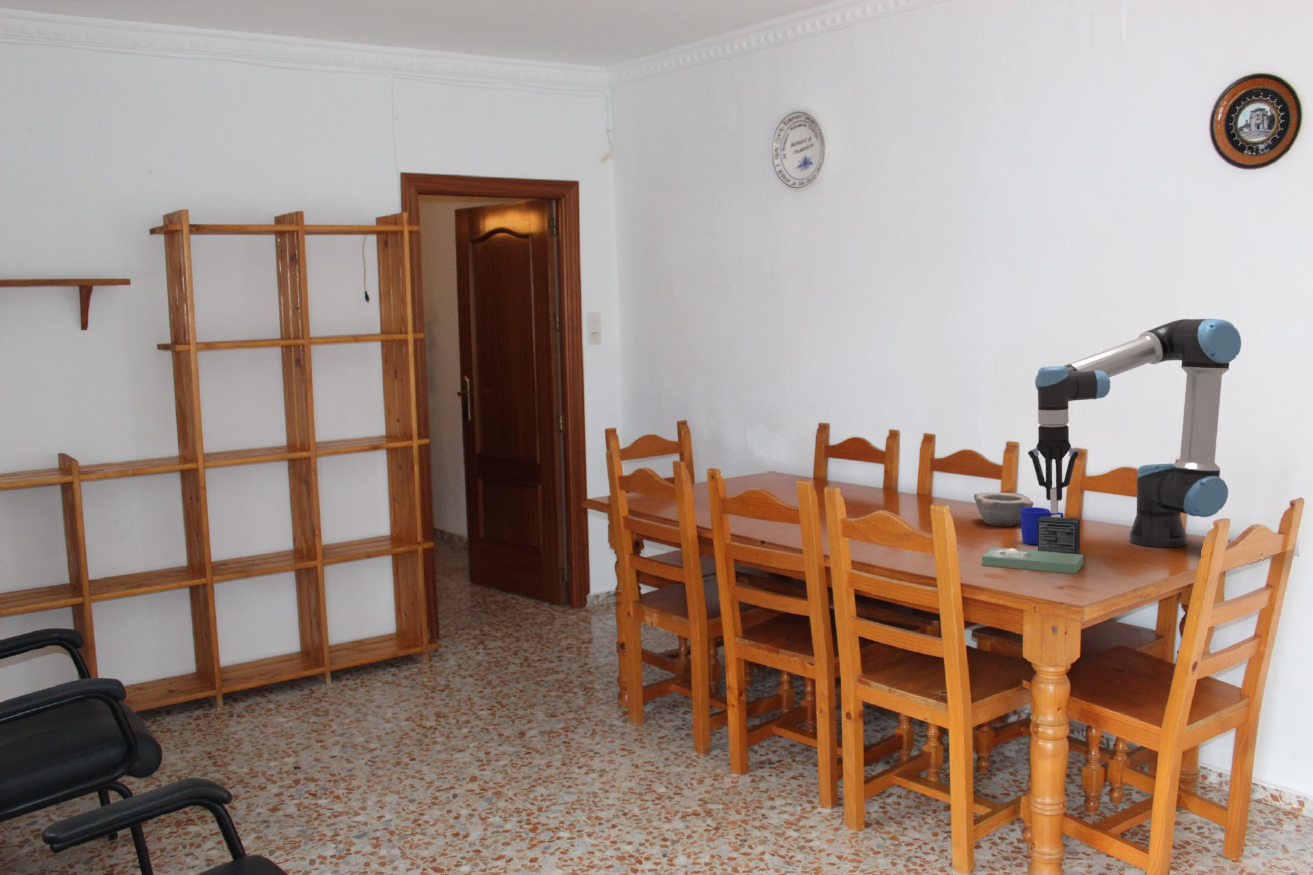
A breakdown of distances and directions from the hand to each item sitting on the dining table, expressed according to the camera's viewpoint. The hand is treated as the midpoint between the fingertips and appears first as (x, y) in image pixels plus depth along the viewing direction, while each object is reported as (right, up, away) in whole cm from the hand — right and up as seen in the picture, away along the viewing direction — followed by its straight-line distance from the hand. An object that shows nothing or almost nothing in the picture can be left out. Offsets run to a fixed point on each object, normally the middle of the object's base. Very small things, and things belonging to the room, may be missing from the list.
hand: (1054, 512), depth 282 cm
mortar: (+5, -8, +58) cm, 58 cm away
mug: (+7, -11, +29) cm, 32 cm away
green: (-4, -15, +4) cm, 16 cm away
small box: (+6, -13, +14) cm, 20 cm away
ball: (-9, -12, +7) cm, 17 cm away
